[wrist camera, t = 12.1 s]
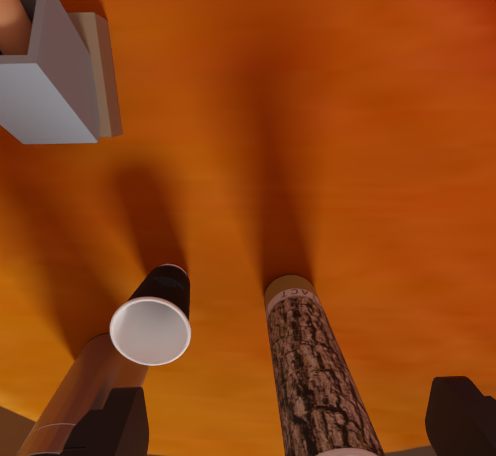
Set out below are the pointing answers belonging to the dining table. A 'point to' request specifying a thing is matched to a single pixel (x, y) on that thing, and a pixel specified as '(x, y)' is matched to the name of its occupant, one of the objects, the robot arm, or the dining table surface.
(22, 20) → the dowel
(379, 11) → the dining table surface
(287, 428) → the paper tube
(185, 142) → the dining table surface
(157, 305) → the dixie cup
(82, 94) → the socket
